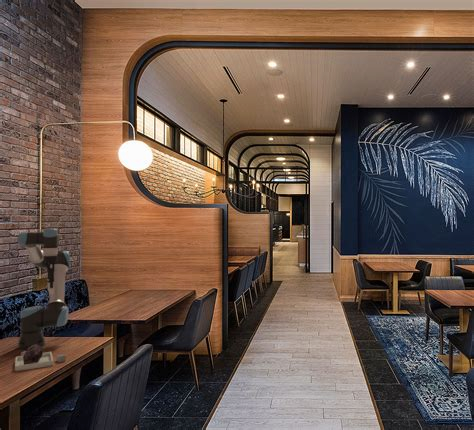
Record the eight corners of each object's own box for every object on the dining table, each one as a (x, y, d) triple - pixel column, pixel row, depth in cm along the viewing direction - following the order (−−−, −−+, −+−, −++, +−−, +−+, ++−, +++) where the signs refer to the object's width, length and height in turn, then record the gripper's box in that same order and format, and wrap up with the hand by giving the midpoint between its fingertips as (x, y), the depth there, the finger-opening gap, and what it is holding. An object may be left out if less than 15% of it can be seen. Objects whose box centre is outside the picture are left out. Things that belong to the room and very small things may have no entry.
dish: (15, 361, 224) (15, 356, 224) (51, 356, 232) (51, 351, 232) (15, 371, 208) (14, 366, 208) (53, 365, 216) (53, 360, 216)
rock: (20, 369, 213) (41, 367, 215) (19, 353, 212) (40, 351, 214) (27, 358, 224) (47, 356, 226) (26, 343, 223) (45, 341, 225)
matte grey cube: (24, 356, 233) (24, 350, 234) (30, 356, 233) (30, 350, 234) (20, 358, 229) (20, 352, 230) (27, 358, 229) (27, 352, 230)
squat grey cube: (56, 361, 224) (56, 355, 224) (62, 359, 226) (62, 354, 226) (59, 362, 221) (59, 357, 221) (65, 361, 223) (65, 355, 223)
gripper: (42, 254, 249) (42, 289, 248) (44, 256, 227) (44, 295, 226) (56, 253, 252) (56, 288, 252) (59, 256, 230) (59, 294, 230)
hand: (50, 292), depth 239 cm, fingers open, 13 cm apart
